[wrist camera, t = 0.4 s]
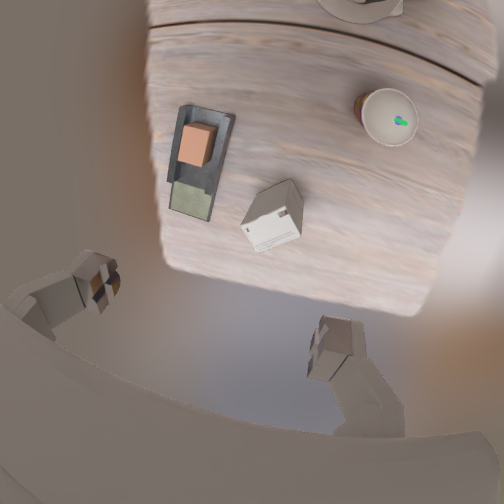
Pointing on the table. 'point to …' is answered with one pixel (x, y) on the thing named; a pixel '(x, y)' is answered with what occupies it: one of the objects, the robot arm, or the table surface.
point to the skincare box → (274, 217)
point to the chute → (194, 177)
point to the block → (197, 144)
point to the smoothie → (387, 116)
